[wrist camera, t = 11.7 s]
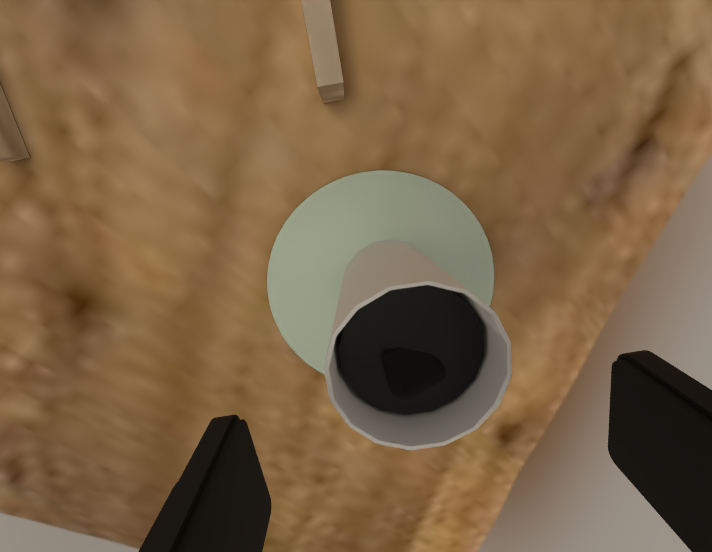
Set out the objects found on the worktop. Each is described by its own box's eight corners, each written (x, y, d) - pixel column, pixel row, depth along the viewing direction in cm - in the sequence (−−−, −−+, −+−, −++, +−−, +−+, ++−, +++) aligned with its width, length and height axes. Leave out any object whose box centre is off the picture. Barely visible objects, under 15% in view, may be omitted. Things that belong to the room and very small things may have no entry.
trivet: (480, 150, 21) (485, 149, 20) (496, 362, 25) (501, 369, 24) (245, 193, 21) (241, 193, 21) (296, 395, 25) (294, 402, 25)
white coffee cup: (454, 315, 23) (530, 419, 13) (355, 348, 23) (360, 470, 14) (425, 216, 21) (488, 253, 12) (318, 253, 22) (294, 318, 12)
